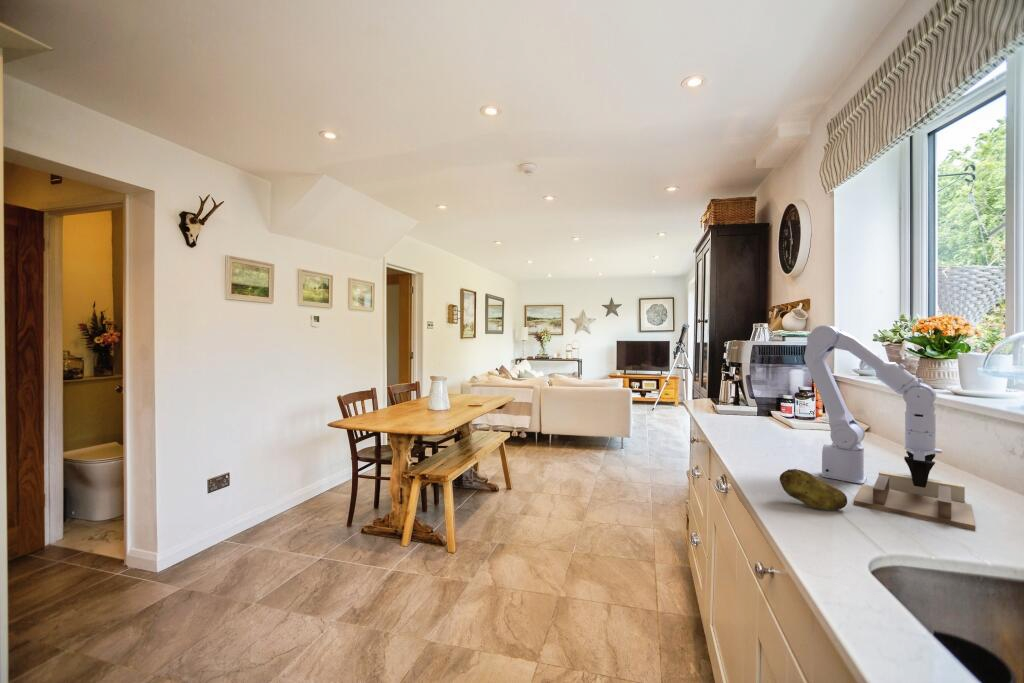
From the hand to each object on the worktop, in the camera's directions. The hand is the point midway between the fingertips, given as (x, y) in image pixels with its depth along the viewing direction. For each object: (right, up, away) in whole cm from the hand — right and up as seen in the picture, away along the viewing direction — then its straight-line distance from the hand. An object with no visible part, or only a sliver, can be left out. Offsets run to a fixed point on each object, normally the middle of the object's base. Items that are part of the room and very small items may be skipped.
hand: (920, 482), depth 111 cm
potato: (-34, -3, -8) cm, 35 cm away
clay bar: (0, -3, 0) cm, 3 cm away
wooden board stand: (-11, -3, -9) cm, 14 cm away
